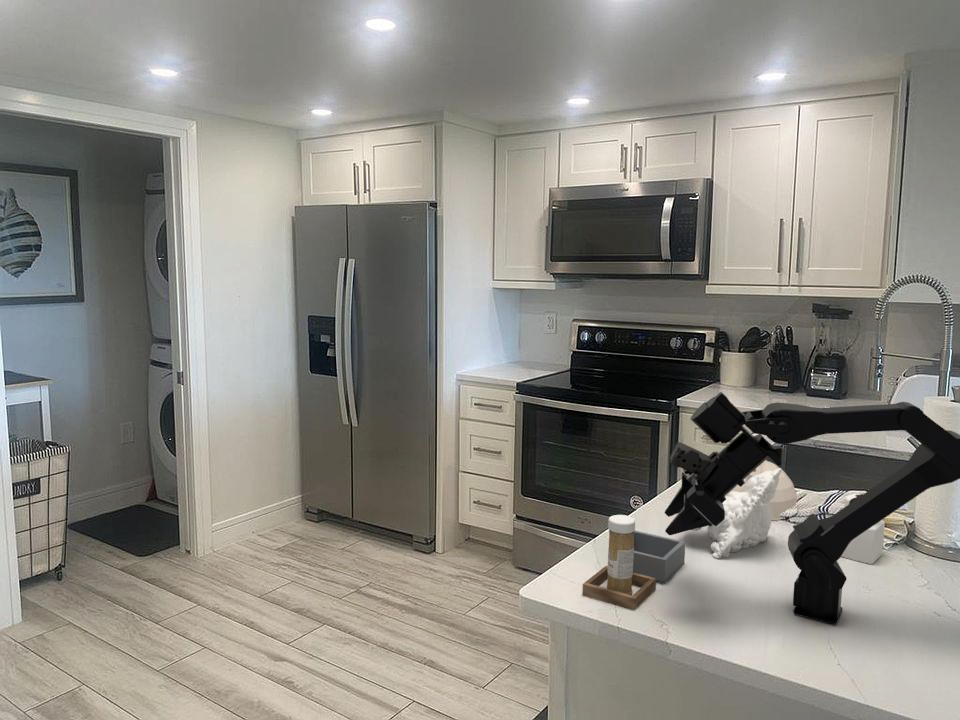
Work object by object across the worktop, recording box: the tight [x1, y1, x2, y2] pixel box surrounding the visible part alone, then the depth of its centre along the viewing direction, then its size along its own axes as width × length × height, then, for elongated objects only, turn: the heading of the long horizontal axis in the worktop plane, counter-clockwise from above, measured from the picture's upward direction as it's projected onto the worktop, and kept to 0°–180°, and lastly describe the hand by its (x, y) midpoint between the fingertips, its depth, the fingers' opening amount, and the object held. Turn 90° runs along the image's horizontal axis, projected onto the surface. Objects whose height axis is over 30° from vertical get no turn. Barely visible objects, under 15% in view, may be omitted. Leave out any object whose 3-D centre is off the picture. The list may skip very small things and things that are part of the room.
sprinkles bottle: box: [606, 514, 636, 595], centre depth 126 cm, size 5×5×13 cm
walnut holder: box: [581, 564, 657, 611], centre depth 126 cm, size 10×10×2 cm
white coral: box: [691, 467, 783, 560], centre depth 149 cm, size 19×20×20 cm
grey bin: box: [633, 530, 686, 585], centre depth 137 cm, size 11×11×4 cm
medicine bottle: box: [840, 493, 886, 565], centre depth 143 cm, size 7×7×12 cm
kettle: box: [726, 431, 798, 522], centre depth 171 cm, size 20×21×18 cm
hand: (666, 523), depth 124 cm, fingers open, 9 cm apart
